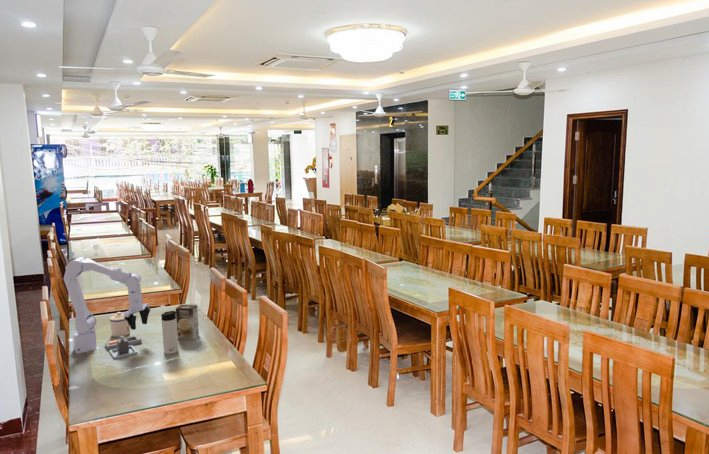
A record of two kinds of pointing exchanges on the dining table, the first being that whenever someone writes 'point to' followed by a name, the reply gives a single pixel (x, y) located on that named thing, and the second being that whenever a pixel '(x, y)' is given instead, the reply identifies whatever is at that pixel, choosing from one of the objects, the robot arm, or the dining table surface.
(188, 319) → the coffee box
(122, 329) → the teacup with lid
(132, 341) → the power strip
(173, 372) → the dining table surface
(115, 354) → the tray
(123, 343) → the plug
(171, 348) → the travel mug
